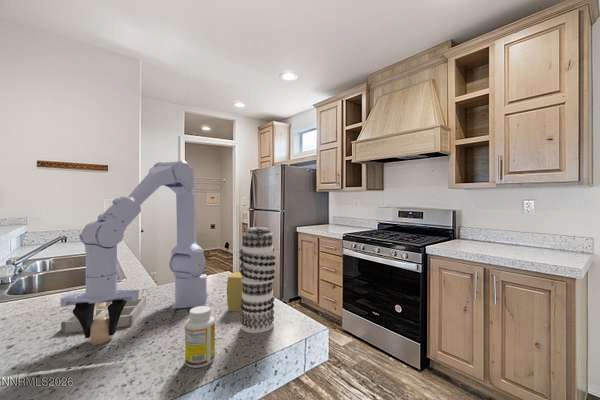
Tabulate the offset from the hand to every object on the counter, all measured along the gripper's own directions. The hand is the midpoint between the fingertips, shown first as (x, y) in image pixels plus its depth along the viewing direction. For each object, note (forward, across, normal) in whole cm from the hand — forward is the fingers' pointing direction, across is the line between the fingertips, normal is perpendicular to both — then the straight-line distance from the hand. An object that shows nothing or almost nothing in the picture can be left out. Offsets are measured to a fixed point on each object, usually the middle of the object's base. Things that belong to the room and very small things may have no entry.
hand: (101, 334), depth 62 cm
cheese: (+2, +34, +14) cm, 37 cm away
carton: (+2, -3, +13) cm, 13 cm away
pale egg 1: (+1, -7, +10) cm, 12 cm away
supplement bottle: (+2, +22, -14) cm, 26 cm away
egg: (+2, 0, 0) cm, 2 cm away
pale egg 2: (+1, -7, +16) cm, 18 cm away
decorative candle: (+2, +35, -1) cm, 35 cm away
